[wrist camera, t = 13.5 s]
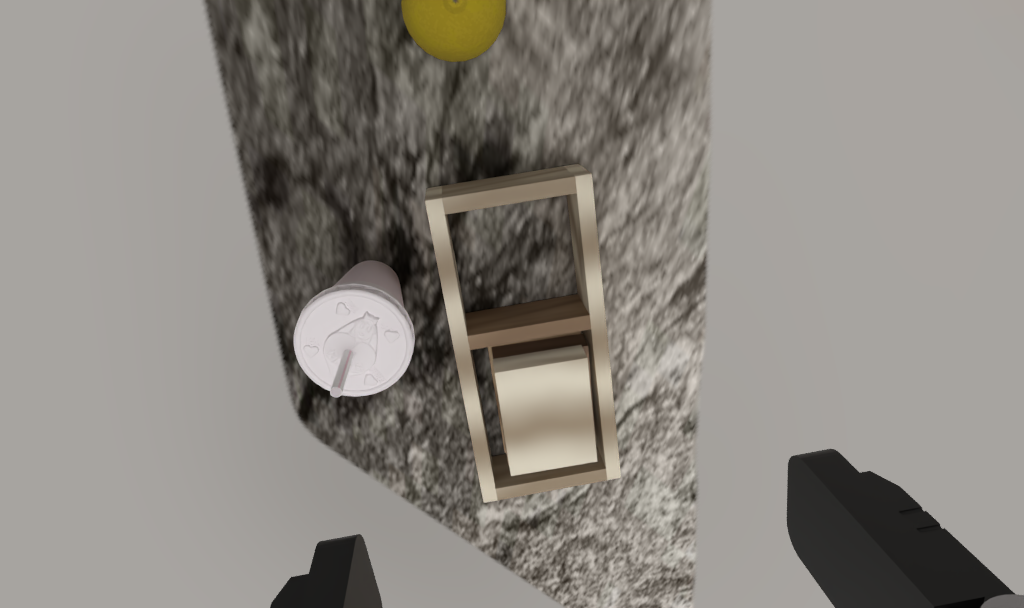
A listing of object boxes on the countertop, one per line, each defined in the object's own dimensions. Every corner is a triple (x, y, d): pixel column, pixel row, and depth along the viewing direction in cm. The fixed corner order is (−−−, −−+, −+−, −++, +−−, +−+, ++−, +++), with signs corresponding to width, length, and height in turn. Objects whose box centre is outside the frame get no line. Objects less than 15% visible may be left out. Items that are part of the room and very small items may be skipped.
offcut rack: (426, 188, 41) (424, 200, 37) (578, 163, 42) (591, 173, 38) (480, 469, 49) (483, 502, 46) (607, 446, 50) (620, 477, 46)
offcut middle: (491, 347, 44) (493, 359, 42) (582, 333, 45) (588, 345, 43) (505, 449, 47) (508, 465, 45) (590, 436, 48) (596, 451, 46)
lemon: (393, 39, 38) (380, 33, 30) (424, -59, 36) (419, -89, 29) (479, 76, 39) (488, 80, 32) (513, -16, 38) (531, -36, 30)
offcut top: (492, 359, 42) (494, 373, 40) (581, 344, 43) (587, 357, 41) (508, 458, 45) (510, 476, 43) (591, 444, 46) (597, 461, 44)
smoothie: (306, 301, 43) (247, 405, 30) (352, 222, 42) (311, 295, 28) (390, 345, 45) (369, 461, 32) (437, 271, 43) (435, 361, 30)
